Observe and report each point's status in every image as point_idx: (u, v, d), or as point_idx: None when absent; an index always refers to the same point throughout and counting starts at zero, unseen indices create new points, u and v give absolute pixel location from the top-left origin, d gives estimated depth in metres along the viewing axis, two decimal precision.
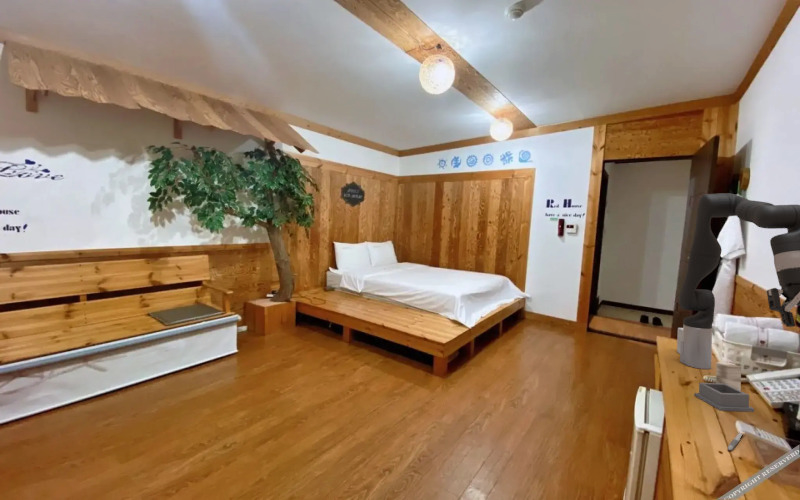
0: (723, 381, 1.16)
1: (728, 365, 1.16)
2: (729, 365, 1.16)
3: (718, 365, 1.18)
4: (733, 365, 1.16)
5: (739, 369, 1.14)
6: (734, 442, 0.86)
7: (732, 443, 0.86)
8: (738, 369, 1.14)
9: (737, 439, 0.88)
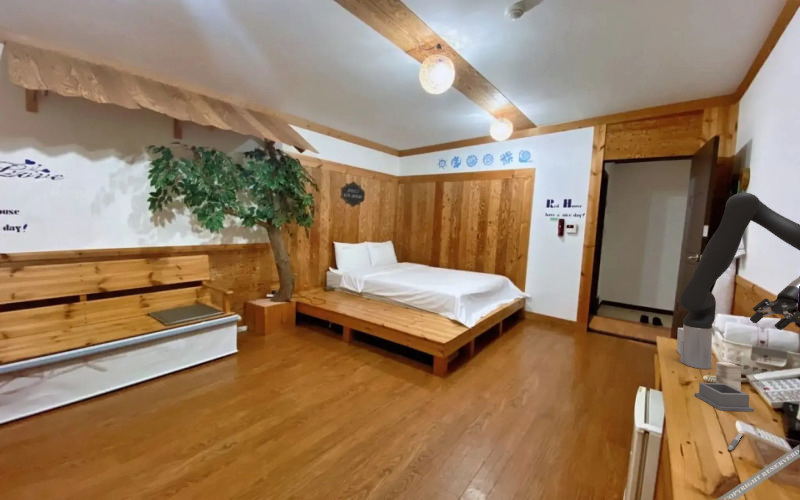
0: (723, 381, 1.16)
1: (728, 365, 1.16)
2: (729, 365, 1.16)
3: (718, 365, 1.18)
4: (733, 365, 1.16)
5: (739, 369, 1.14)
6: (734, 442, 0.86)
7: (732, 443, 0.86)
8: (738, 369, 1.14)
9: (737, 439, 0.88)
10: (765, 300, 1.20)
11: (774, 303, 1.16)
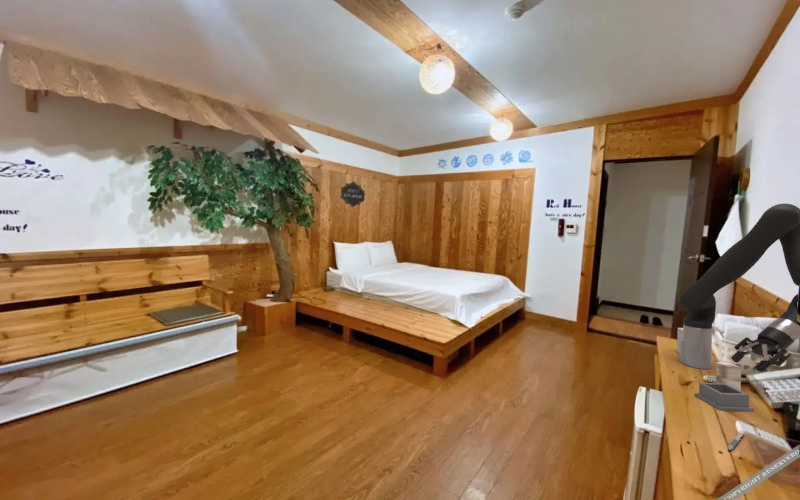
0: (723, 381, 1.16)
1: (728, 365, 1.16)
2: (729, 365, 1.16)
3: (718, 365, 1.18)
4: (733, 365, 1.16)
5: (739, 369, 1.14)
6: (734, 442, 0.86)
7: (732, 443, 0.86)
8: (738, 369, 1.14)
9: (737, 439, 0.88)
10: (746, 339, 1.21)
11: (754, 343, 1.17)
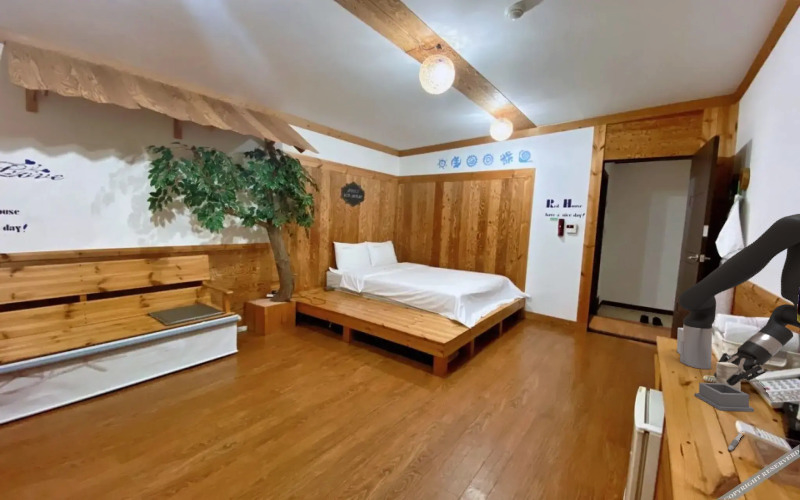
0: (723, 381, 1.16)
1: (728, 364, 1.16)
2: (729, 365, 1.16)
3: (718, 365, 1.18)
4: (733, 365, 1.16)
5: None
6: (734, 443, 0.86)
7: (732, 443, 0.86)
8: None
9: (737, 439, 0.88)
10: (725, 354, 1.22)
11: (734, 357, 1.17)
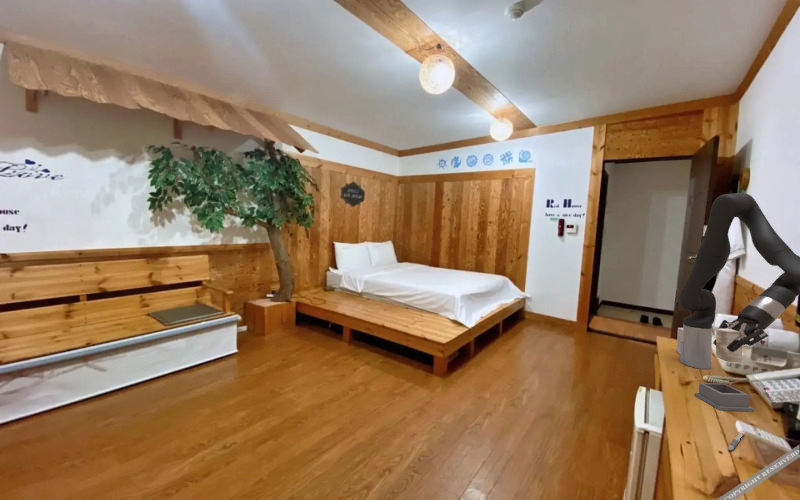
0: (723, 348, 1.10)
1: (729, 330, 1.10)
2: (729, 331, 1.09)
3: (718, 331, 1.12)
4: (734, 331, 1.09)
5: None
6: (735, 443, 0.86)
7: (732, 443, 0.86)
8: None
9: (737, 439, 0.88)
10: (724, 321, 1.16)
11: (735, 323, 1.11)
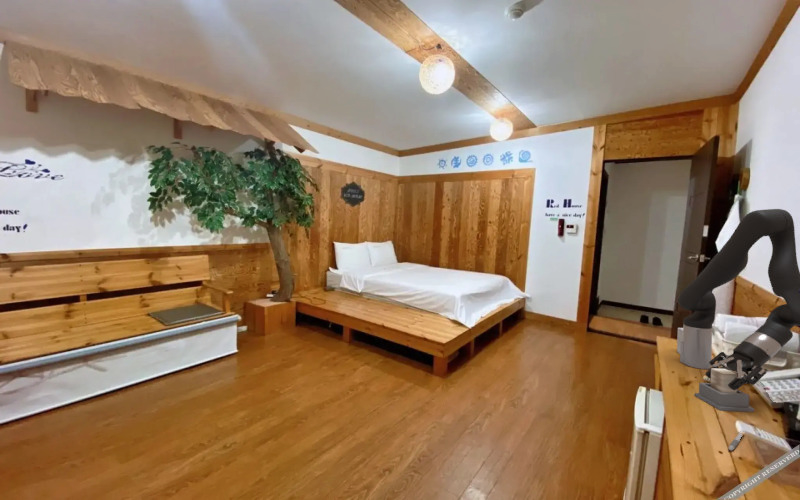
0: (718, 389, 1.08)
1: (723, 371, 1.08)
2: (724, 372, 1.08)
3: (713, 371, 1.10)
4: (729, 372, 1.08)
5: (735, 376, 1.06)
6: (735, 443, 0.86)
7: (733, 443, 0.86)
8: (733, 376, 1.06)
9: (738, 439, 0.88)
10: (721, 354, 1.14)
11: (729, 359, 1.10)
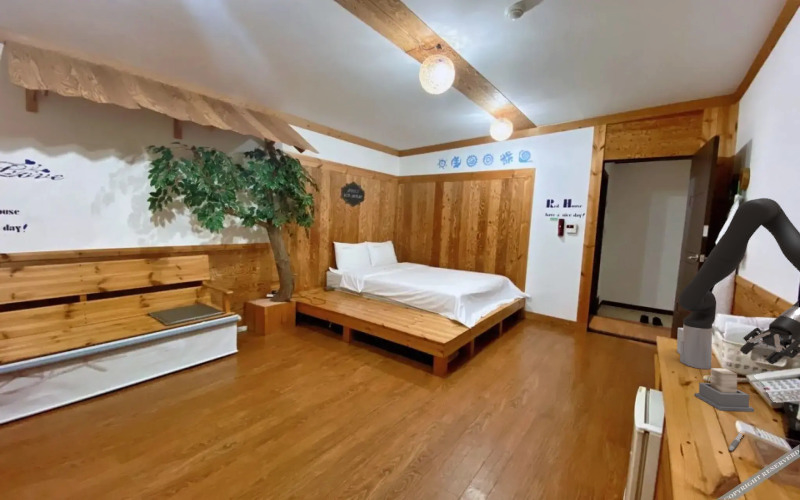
0: (718, 389, 1.08)
1: (723, 371, 1.08)
2: (724, 372, 1.08)
3: (713, 371, 1.10)
4: (729, 372, 1.08)
5: (735, 376, 1.06)
6: (735, 443, 0.86)
7: (733, 443, 0.86)
8: (733, 376, 1.06)
9: (738, 439, 0.88)
10: (756, 329, 1.13)
11: (766, 334, 1.08)
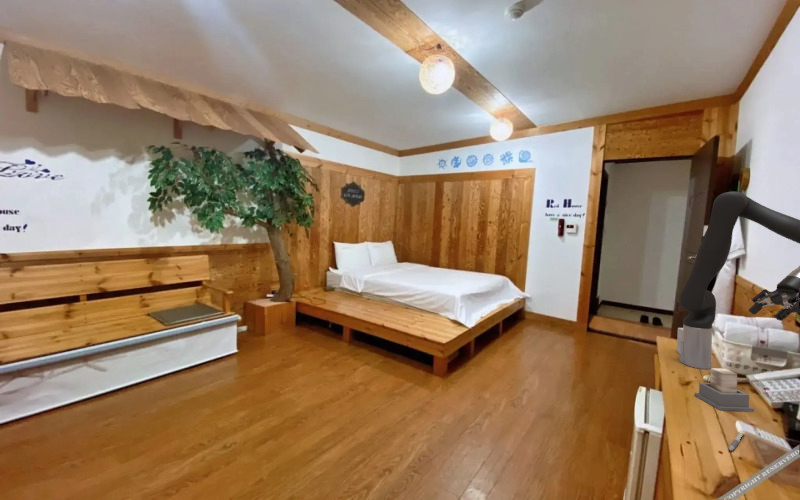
0: (718, 389, 1.08)
1: (723, 371, 1.08)
2: (724, 372, 1.08)
3: (713, 371, 1.10)
4: (729, 372, 1.08)
5: (735, 376, 1.06)
6: (735, 443, 0.86)
7: (733, 443, 0.86)
8: (733, 376, 1.06)
9: (738, 439, 0.88)
10: (764, 291, 1.17)
11: (774, 293, 1.13)
